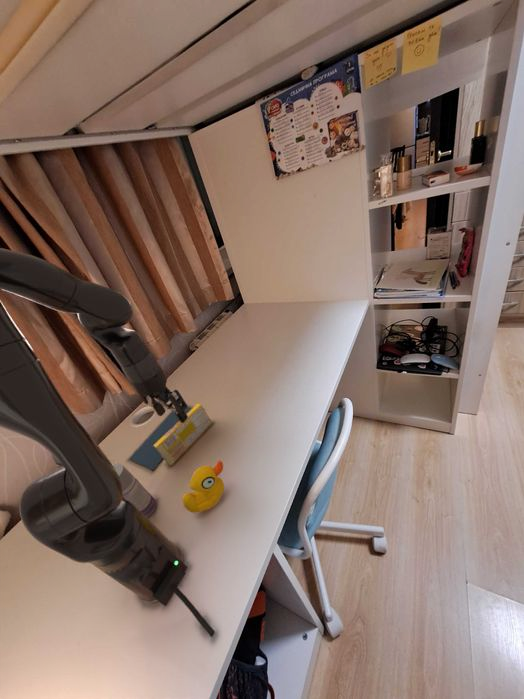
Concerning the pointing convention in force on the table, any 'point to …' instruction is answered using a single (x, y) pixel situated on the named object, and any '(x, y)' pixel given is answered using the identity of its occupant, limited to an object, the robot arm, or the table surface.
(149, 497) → the container
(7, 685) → the table surface
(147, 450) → the mat
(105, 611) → the table surface
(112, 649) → the table surface
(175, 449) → the candy box
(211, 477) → the duckling
